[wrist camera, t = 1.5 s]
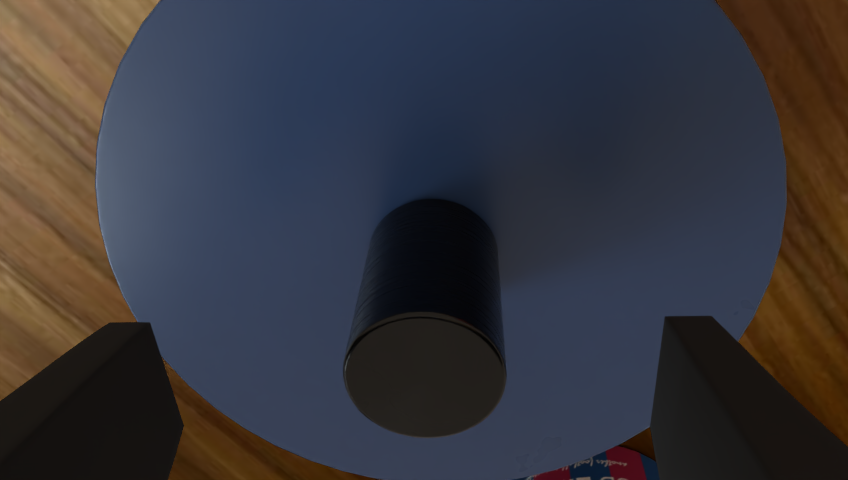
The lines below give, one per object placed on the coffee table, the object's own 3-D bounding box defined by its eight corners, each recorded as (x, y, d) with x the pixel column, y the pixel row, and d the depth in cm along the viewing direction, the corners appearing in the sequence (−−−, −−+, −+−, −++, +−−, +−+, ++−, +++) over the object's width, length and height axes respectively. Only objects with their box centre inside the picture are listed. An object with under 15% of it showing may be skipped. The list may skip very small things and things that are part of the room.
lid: (714, 448, 17) (788, 639, 13) (197, 451, 18) (122, 630, 14) (834, -155, 11) (1047, -134, 7) (27, -103, 12) (-197, -58, 8)
